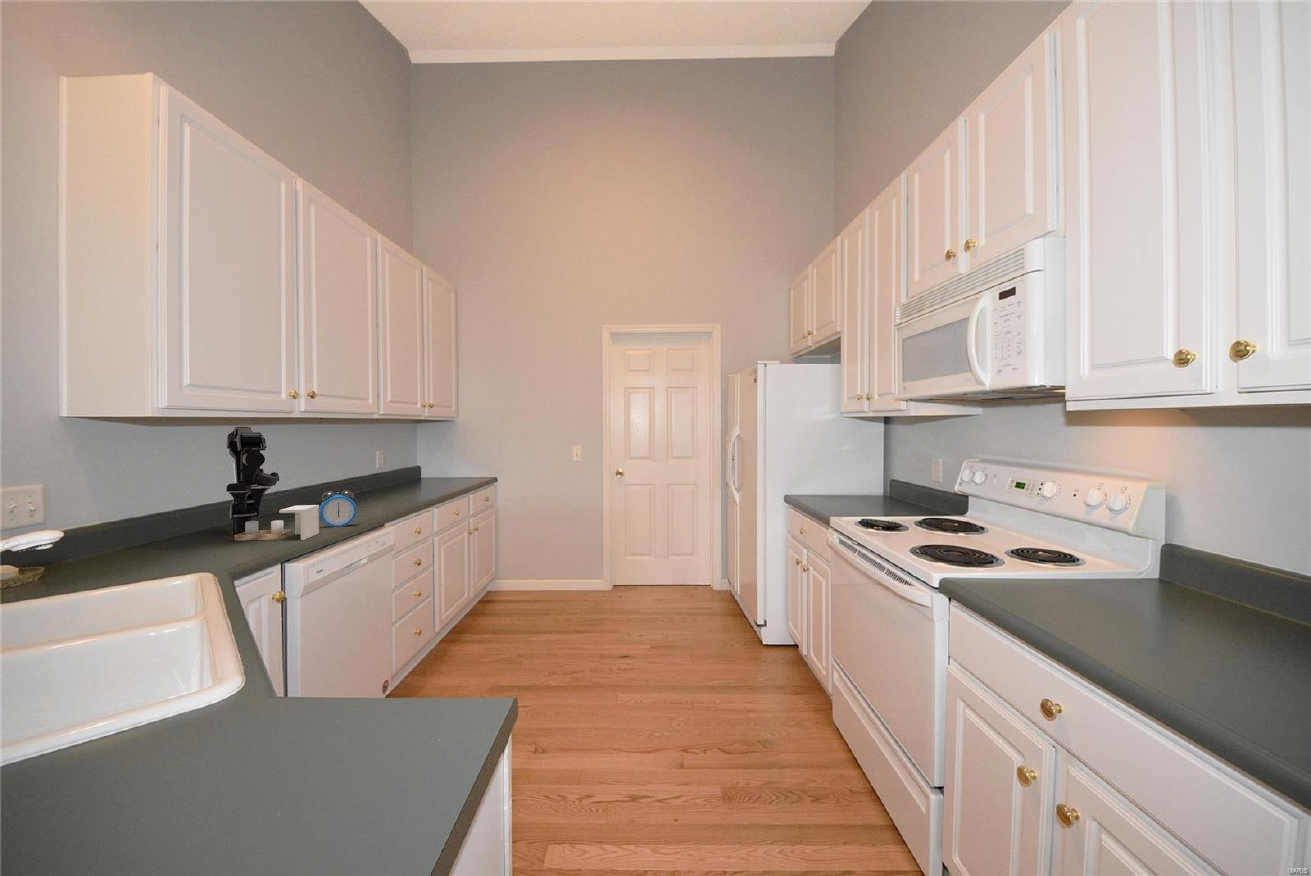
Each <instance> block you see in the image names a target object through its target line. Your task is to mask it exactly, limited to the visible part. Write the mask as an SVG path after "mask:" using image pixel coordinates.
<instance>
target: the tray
mask: <svg viewBox="0 0 1311 876" xmlns="http://www.w3.org/2000/svg"><path fill="white" fill-rule="evenodd" d="M293 532H294V530H293V529H284V532H283V533H281V534H271V529H270V530H269V529H268V530H263V529H262V530H258V534H253V535H245V532H243V533H238V534H235V535H234V541H269V540H275V541H277V540H283V539H285V538H288V537H291V536H293V535H294V534H293Z"/></svg>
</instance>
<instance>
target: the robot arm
mask: <svg viewBox="0 0 1311 876" xmlns="http://www.w3.org/2000/svg"><path fill="white" fill-rule="evenodd" d="M226 437H227V438H226V445H225V446H226V449H228V453H229V454H228V455H230V457H232V458H233V460H234V468H235V469H234V472H235V473H234V474H235V482H231V483H229V484H227V485H226V490H225V491H226V493H228V494H229V495H230V496H231V497H232V498H233V499H232V501H231V503H230V506H229V519H230V520H232V532H230V533H229V535H234V534H235V535H237V534H240V533H243V532H245V522H247V521H257V520H256V518H258V517H260V511H261V510H260V509H261V504H262V501H263V498H264V495H265V493H266V492H267V491H268V490H271V487H274V486H276V485H277V483H278V482H279V481H280V476H279V472H276V471H275V472H274V471H273V472H271V473H265V471H264V468H261V466H263V465H264V463H265V461H266V457H265V455H264V454H263V453H262V452H261V451H266V449H267V441H266V438H265V436H264V435H263V434H262V433H261V432H259V431H258V432H257V431H255V432H254V431H253V430H252V427H251V426H250V427H249V426H235V427H234V428H233V431H231V432H230V433H228V434H227V436H226Z"/></svg>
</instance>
